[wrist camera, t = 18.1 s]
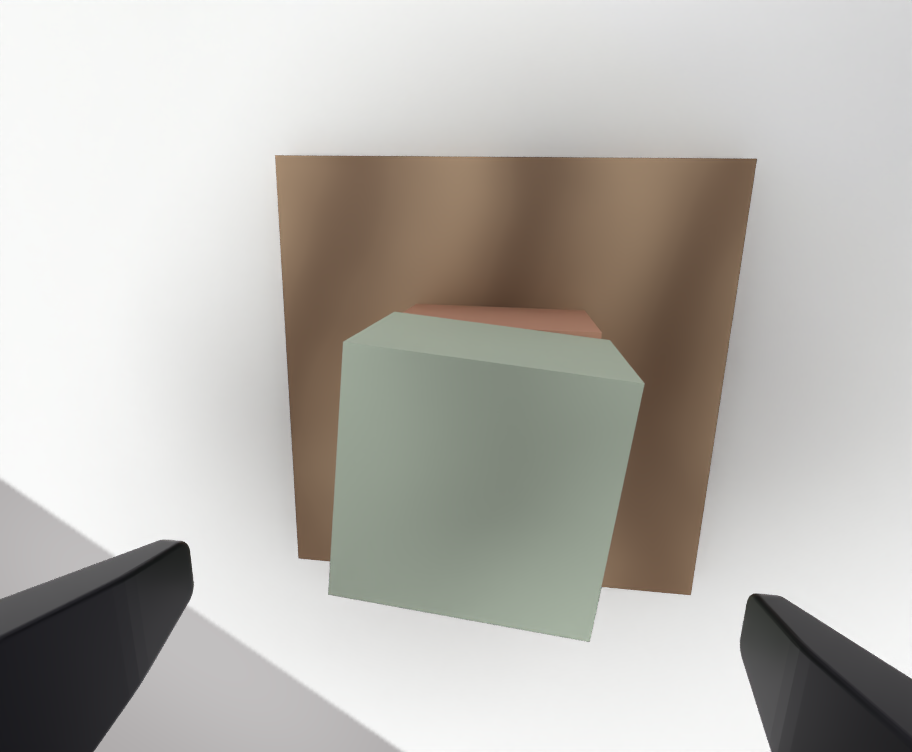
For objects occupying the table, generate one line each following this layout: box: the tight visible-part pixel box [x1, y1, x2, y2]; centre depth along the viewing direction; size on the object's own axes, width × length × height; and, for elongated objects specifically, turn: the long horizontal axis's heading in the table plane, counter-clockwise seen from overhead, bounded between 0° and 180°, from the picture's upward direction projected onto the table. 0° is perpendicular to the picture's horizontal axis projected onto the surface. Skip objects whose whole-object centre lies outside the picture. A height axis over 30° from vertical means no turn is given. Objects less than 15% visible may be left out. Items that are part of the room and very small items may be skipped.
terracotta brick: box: [402, 304, 602, 339], centre depth 18 cm, size 6×6×4 cm
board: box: [275, 155, 757, 595], centre depth 21 cm, size 16×16×1 cm
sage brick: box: [328, 312, 645, 642], centre depth 14 cm, size 6×6×4 cm
